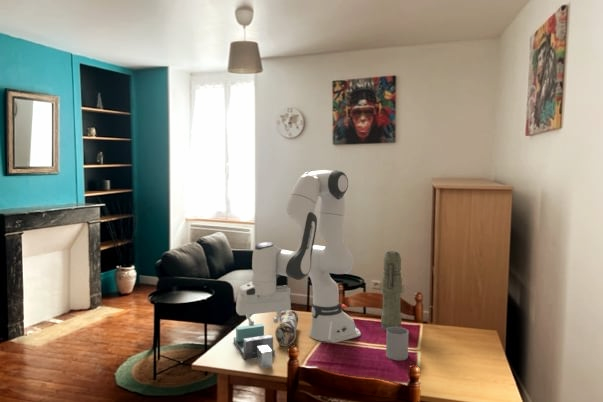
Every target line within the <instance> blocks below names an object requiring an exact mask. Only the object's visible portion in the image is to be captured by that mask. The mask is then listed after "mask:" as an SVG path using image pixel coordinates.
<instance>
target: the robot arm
mask: <svg viewBox="0 0 603 402" xmlns="http://www.w3.org/2000/svg"><path fill="white" fill-rule="evenodd" d="M348 188H349V179H348V177H347V175H346V173H345V172H344V171H341V170H330V169H322V170H310V171H309V170H308V171H305V172H303V173H302V175H300V177H299V178H298V179H297V180H296V182H295V184H294V185H293V188H292V190H291V192H290V194H289V196H288V200H287V203H286V208H285V209H286V213H287V215H288V217H289V218H290V220H292V221H293V222H295V223H296V224H298V225H299V226H300V230H301V231H300V237H299V242H298V246H297V249H296V250H295V251H293V250H287V249H283V248H280V247H278V246H276V245H275V242H272V241H271V242H270V241H262V242H259V243H257V244H256V245H254V248H253V251H252V260H251V263H252V264H251V268H252V277H251V281H249V282H247V283H245V284H241V285H240V286H239V288H238V289H239V290H238V291H239V293H238V294H237V297H236V305H235V310H236V311H235V312H236V314H237V315H239V316H245V317H246V319H247V320H248V326H254V325H255V321H254V320H253V319H251V317H252V315H258V314H267V313H268V314H269V313H276V315H275V316H273V317H272V318H273V321H272V322H273V323H274V324H279V320H280V319H279V318H280V316H281V313H282V312H283V311H286V310H289V309H290V310H291V309H292V306H291V304H292V303H291V301H292V300H291V292H292V291H291V288H290V286H288V285H287V284H285V285H277V276H276V275H280V276H284V277H287V278H290V279H294V280H295V281H300V280H303V279H304V278H306V277H308V276H309V278H310V281H311V285H312V303H311V316H312V317H311V326H310V330H309V333H308V335H309V337H310V338H311V339H314V340H317V341H321V342H327V343H332V344H335V343H340V342H343V341H344V342H345V341H348V340H350V339H354V338H358V337H361V335H362V334H361V331H360V330H359V328H357V327H356V324H355V321H354V318H352V317H351V316H350V315H349V314H347V313H346V312H345V311H346V310H347V305H346V304H344V303H341V302H339V297H340V296H339V292H340V291H339V288H340V287H339V285H338V283H337V282H336V281H335V280H334V279H333V278H332V277H331V274H334V275H344V274H345V275H347V274H349V273H350V272H351V271H352V270H353V268H354V265H355V257H354V255H353V253H352V252H351V251H350V250H349V249H348V247H347V245H346V243H345V240H344V235H343V234H344V233H343V232H344V219H345V209H346V207H345V204H346V203H345V196H344V195H345V194H346V192H347V190H348ZM319 197H320V199H321V200H320V205H319V209H318V217H317V215H315V211H316V209H315V208H316V205H317V202H318V200H319ZM317 233H318V234H319V235H320V236H321V237H322V239H323V240H324V245H320V244H319V245H318V244H314V243H315V239H316V234H317ZM344 310H345V311H344Z"/></svg>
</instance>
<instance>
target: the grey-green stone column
mask: <svg viewBox="0 0 603 402" xmlns="http://www.w3.org/2000/svg"><path fill="white" fill-rule="evenodd" d="M400 254H401V253H400V252H398V251H392V250H391V251H387V252H385V255H384V256H383V276H382V278H381V291H382V313H381V318H380V323H381V330H383V331H384V332H387V328H389V327H402V315H401V295H402V292H403V289H402V288H403V278H402V275H401V273H402V272H401V270H402V259H401V255H400Z"/></svg>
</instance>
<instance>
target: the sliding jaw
mask: <svg viewBox="0 0 603 402" xmlns="http://www.w3.org/2000/svg"><path fill="white" fill-rule="evenodd" d="M264 335H265V326H264V324H263V323H258V324H257V323H256V324H254V326H249V325H244V326H243V325H242V326H236V327H235V337H236V340H237V341H238V342H240V341H244V338H251V337H258V336H264Z"/></svg>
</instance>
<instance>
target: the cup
mask: <svg viewBox="0 0 603 402" xmlns="http://www.w3.org/2000/svg"><path fill="white" fill-rule="evenodd" d="M385 334H386V335H385V336H386V342H385V343H386V344H385V346H386V347H385V356H386V357H387V358H388V359H390V360H394V361H405V360H407V359H408V357H409V330H408V329H407V328H404V327H402V326H401V327H389V328H387V331H386V333H385Z"/></svg>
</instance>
